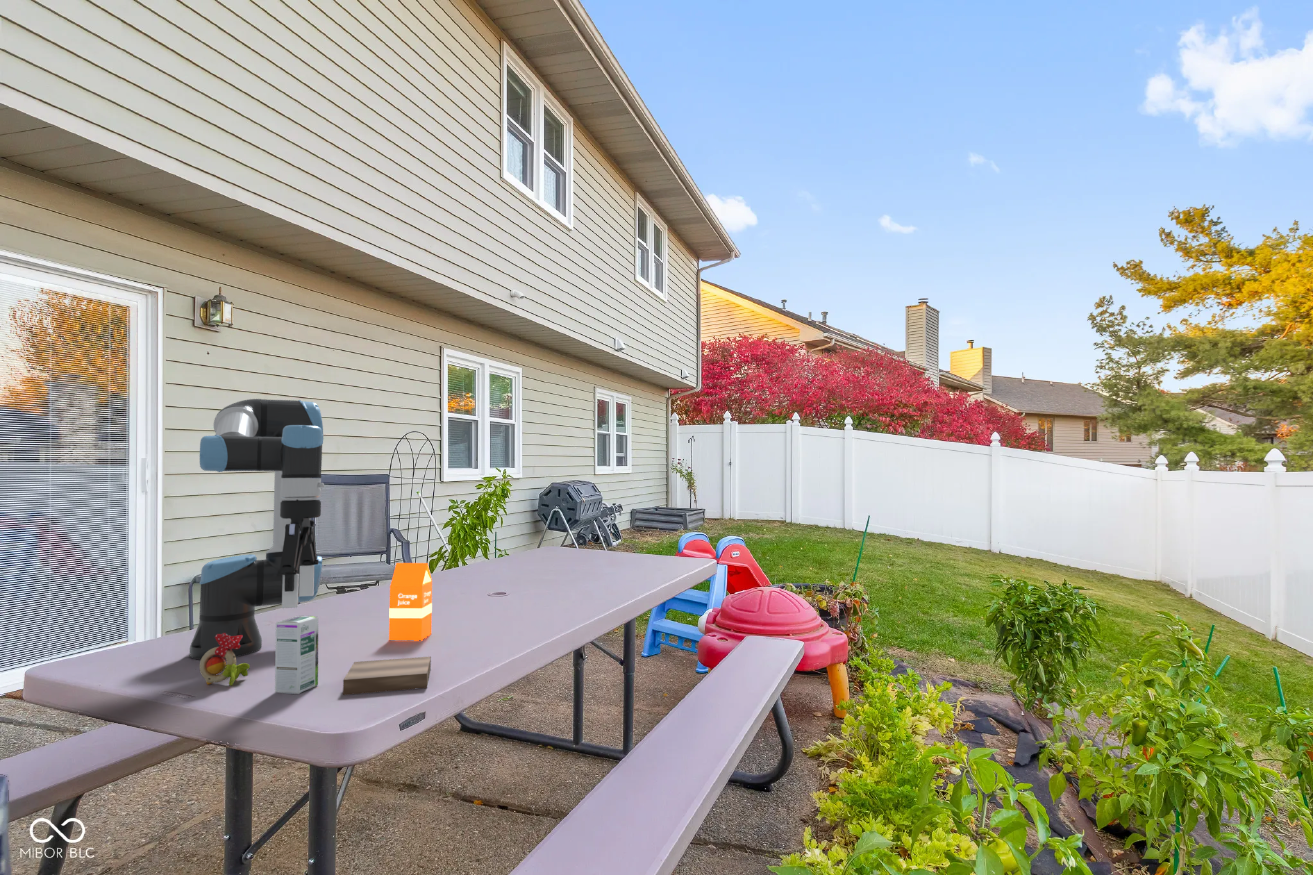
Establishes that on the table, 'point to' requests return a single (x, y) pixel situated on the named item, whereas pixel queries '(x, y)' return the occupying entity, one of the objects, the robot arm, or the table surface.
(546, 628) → the table surface
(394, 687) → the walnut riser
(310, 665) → the syrup box
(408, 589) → the orange juice
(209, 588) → the robot arm
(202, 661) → the bird rattle
